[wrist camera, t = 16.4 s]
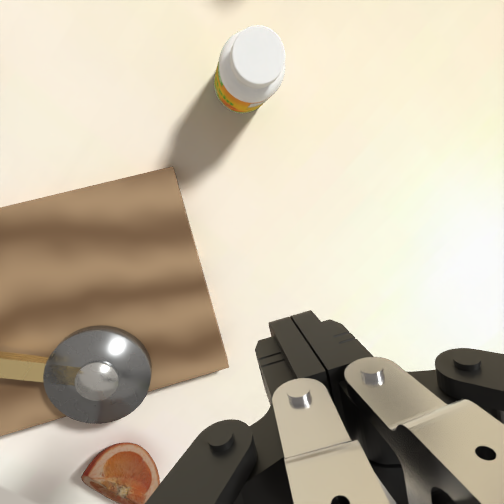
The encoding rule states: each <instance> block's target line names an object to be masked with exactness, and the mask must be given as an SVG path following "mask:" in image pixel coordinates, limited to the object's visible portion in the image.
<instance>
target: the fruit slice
mask: <svg viewBox="0 0 504 504" xmlns="http://www.w3.org/2000/svg"><path fill="white" fill-rule="evenodd" d="M81 478H82V480H83V482H84V483H85V484H86V485H88V486H89V487H90V488H92V489H94V490H95V491H97V492H99V493H101V494H102V495H104V496H105V497H107V498H109V499H111V500H113V501H115V502H117V503H119V504H145V502H146V501H147V500H148V499H149V497H150V496H151V495H152V494H153V492H154V491H155V490H156V489H157V487H158V486H159V485H160V481H159V475H158V470H157V467H156V465H155V463H154V461H153V459H152V458H151V456H150V455H149V453H148V452H147V451H146V450H145V449H143V448H142V447H141V446H139V445H137V444H133V443H119V444H115V445H112V446H109V447H108V448H106V449H105V450H103V451H102V452H100V453H99V454H98V455H97V456H96V457H95V458H94V459H93V461H92V462H91V463H90V464H89V466H88V467H87V469H86V470H85V471H84V473H83V475H82V477H81Z"/></svg>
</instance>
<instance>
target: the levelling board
mask: <svg viewBox="0 0 504 504" xmlns="http://www.w3.org/2000/svg"><path fill="white" fill-rule="evenodd" d="M97 325H105V326H113V327H117V328H120V329H123V330H125V331H127V332H129V333H131V334H132V335H134V336H135V337H136V338H137V339H139V340H140V341H141V343H142V344H143V345H144V346H145V348H146V349H147V351H148V353H149V356H150V358H151V363H152V376H151V381H150V386H149V390H148V392H149V391H152V390H156V389H159V388H162V387H166V386H169V385H172V384H176V383H179V382H182V381H186V380H189V379H192V378H196V377H199V376H202V375H206V374H209V373H212V372H216V371H219V370H222V369H226V368H229V365H228V360H227V356H226V352H225V349H224V345H223V342H222V338H221V334H220V331H219V327H218V324H217V320H216V317H215V313H214V310H213V306H212V303H211V299H210V295H209V292H208V288H207V285H206V281H205V278H204V274H203V271H202V267H201V263H200V260H199V256H198V253H197V249H196V246H195V242H194V239H193V235H192V231H191V228H190V224H189V221H188V217H187V214H186V210H185V207H184V203H183V200H182V196H181V192H180V189H179V185H178V182H177V178H176V175H175V171H174V168H173V167H168V168H164V169H160V170H156V171H152V172H148V173H143V174H139V175H135V176H131V177H127V178H122V179H118V180H114V181H110V182H106V183H102V184H97V185H93V186H89V187H85V188H81V189H77V190H72V191H68V192H64V193H60V194H56V195H51V196H47V197H43V198H39V199H35V200H31V201H26V202H22V203H18V204H14V205H10V206H6V207H1V208H0V352H9V353H17V354H26V355H34V356H43V357H50V355H51V354H52V352H53V351H54V350H55V348H56V347H57V346H58V345H59V343H60V342H61V341H62V340H63V339H64V338H65V337H67V336H68V335H69V334H71V333H73V332H75V331H77V330H79V329H82V328H85V327H89V326H97ZM63 417H66V415H65V414H63V413H62V412H60V411H59V410H58V409H57V408H56V407H55V406H54V405H53V404H52V402H51V401H50V399H49V398H48V396H47V394H46V391H45V388H44V382H35V381H25V380H16V379H6V378H0V436H3V435H6V434H9V433H13V432H16V431H19V430H23V429H26V428H29V427H33V426H36V425H39V424H43V423H46V422H49V421H53V420H56V419H59V418H63Z"/></svg>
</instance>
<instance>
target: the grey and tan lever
mask: <svg viewBox="0 0 504 504" xmlns="http://www.w3.org/2000/svg"><path fill="white" fill-rule="evenodd" d="M151 376H152V363H151V358H150V356H149V353H148V351H147V349H146V348H145V346H144V345H143V344H142V343H141V341H140V340H139V339H137V338H136V337H135V336H134V335H132V334H131V333H129V332H127V331H125V330H123V329H120V328H117V327H113V326H105V325H97V326H89V327H85V328H82V329H79V330H77V331H75V332H73V333H71V334H69V335H68V336H67V337H65V338H64V339H63V340H62V341H61V342H60V343H59V345H58V346H57V347H56V348H55V350H54V351H53V352H52V354H51V355H50V357H43V356H34V355H26V354H17V353H9V352H0V378H6V379H16V380H25V381H35V382H44V388H45V391H46V394H47V396H48V398H49V399H50V401H51V402H52V404H53V405H54V406H55V407H56V408H57V409H58V410H59V411H60V412H62V413H63V414H65V415H66V416H68V417H70V418H72V419H75V420H77V421H81V422H86V423H107V422H112V421H115V420H118V419H121V418H123V417H125V416H127V415H128V414H130V413H131V412H133V411H134V410H135V409H136V408H137V407H138V406H139V405H140V404H141V403H142V401H143V400H144V398H145V397H146V395H147V392H148V390H149V386H150V381H151Z"/></svg>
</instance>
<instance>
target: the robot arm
mask: <svg viewBox="0 0 504 504" xmlns="http://www.w3.org/2000/svg"><path fill="white" fill-rule="evenodd" d="M269 328H270V332H271V336H272V337H269V338H266V339H262V340H259V341H258V343H257V346H256V349H255V352H256V356H257V360H258V364H259V368H260V371H261V375H262V379H263V383H264V387H265V390H266V393H267V396H268V399H269V402H270V405H271V406H270V408H269V410H268V412H267V413H266V414H265V415H264V417H262V418H261V419H260V420H259V421H257V422H256V423H254V424H253V425H251V426H248V425H247V424H246V423H244V422H242V421H239V420H223V421H220V422H217V423H214V424H212V425H211V426H209V427H207V428H206V429H205V430H203V431H202V432H201V433H200V434H199V435H198V437H197V438H196V439H195V440H194V442H193V443H192V444H191V445H190V447H189V448H188V449H187V451H186V452H185V453H184V454H183V456H182V457H181V458H180V459H179V461H178V462H177V463H176V464H175V466H174V467H173V468H172V470H171V471H170V472H169V473H168V475H167V476H166V477H165V478H164V480H163V481H162V482H161V483H160V485H159V486H158V487H157V489H156V490H155V491H154V492H153V494H152V495H151V496H150V497H149V499H148V500H147V501H146V502H145V504H504V354H499V353H493V352H488V351H482V350H476V349H469V348H458V349H451V350H447V351H445V352H443V353H441V354H440V355H438V356H437V358H436V360H435V368H436V370H429V371H417V372H406V371H405V370H403V369H402V368H401V367H400V366H398V365H397V364H396V363H394V362H393V361H391V360H388V359H385V358H381V357H373V356H372V354H371V353H370V352H369V351H368V350H367V349H366V348H365V347H364V346H363V345H362V344H361V343H360V342H359V341H358V340H357V339H355V337H354V336H353V335H352V334H351V333H349V331H348V330H347V329H346V328H345V327H344V326H343V325H342V324H340V323H338V322H335V321H333V320H326V321H323V322H321V321H320V320H319V319H318V318H317V317H316V315H315V314H314V313H313V312H312V311H311V310H310V311H307V312H303V313H300V314H296V315H293V316H290V317H286V318H283V319H279V320H276V321H272V322H269Z"/></svg>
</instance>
